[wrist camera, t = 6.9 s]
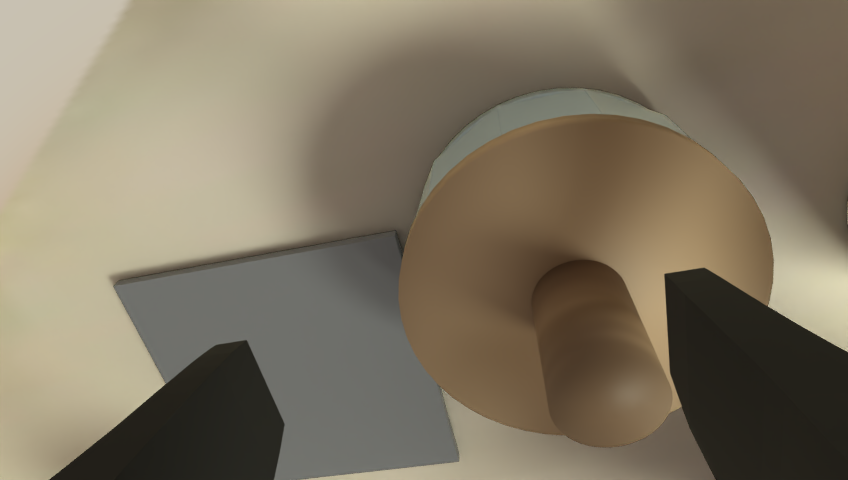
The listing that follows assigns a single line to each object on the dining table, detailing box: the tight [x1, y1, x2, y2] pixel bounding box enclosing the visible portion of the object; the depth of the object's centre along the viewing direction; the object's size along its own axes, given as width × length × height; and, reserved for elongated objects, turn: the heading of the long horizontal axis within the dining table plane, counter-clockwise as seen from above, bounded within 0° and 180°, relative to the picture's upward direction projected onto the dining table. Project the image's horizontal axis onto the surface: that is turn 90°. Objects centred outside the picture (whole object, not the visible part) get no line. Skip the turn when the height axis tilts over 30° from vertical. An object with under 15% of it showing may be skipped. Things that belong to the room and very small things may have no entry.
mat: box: [113, 231, 459, 480], centre depth 24 cm, size 11×11×1 cm
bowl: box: [415, 88, 691, 218], centre depth 19 cm, size 10×10×4 cm
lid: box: [399, 114, 774, 447], centre depth 15 cm, size 10×10×5 cm
